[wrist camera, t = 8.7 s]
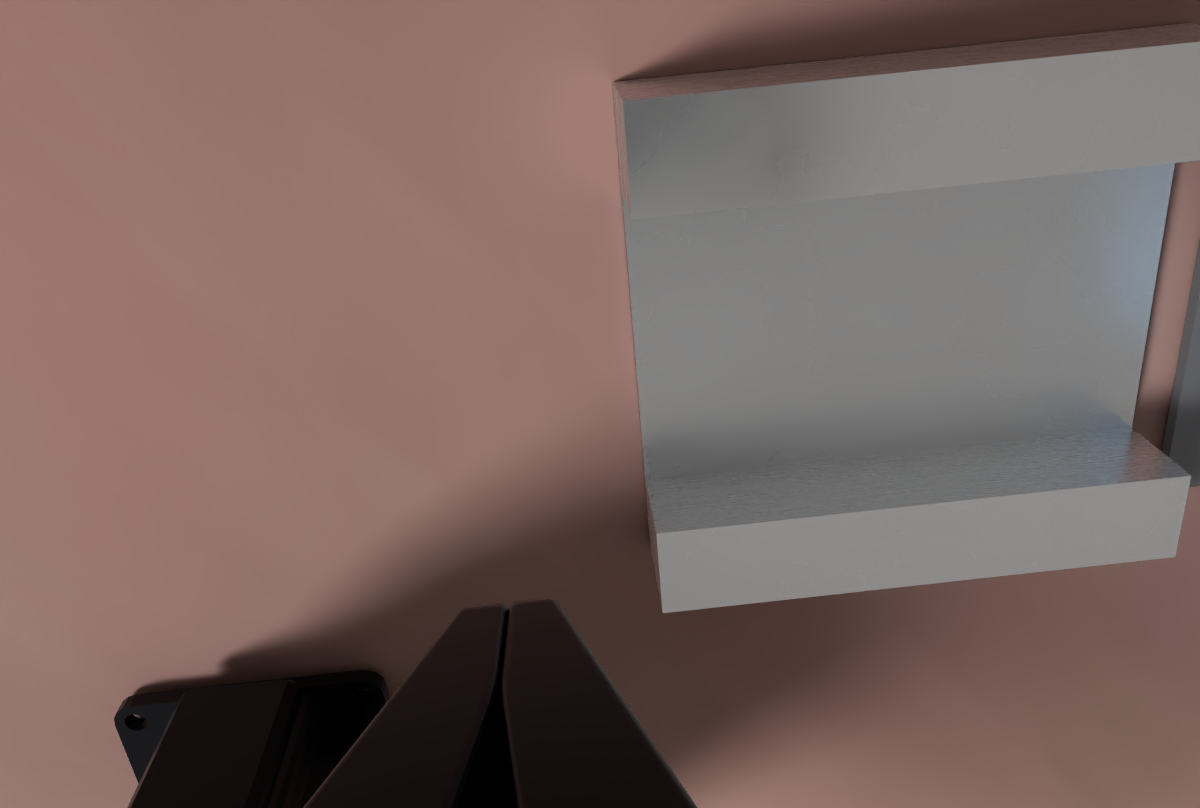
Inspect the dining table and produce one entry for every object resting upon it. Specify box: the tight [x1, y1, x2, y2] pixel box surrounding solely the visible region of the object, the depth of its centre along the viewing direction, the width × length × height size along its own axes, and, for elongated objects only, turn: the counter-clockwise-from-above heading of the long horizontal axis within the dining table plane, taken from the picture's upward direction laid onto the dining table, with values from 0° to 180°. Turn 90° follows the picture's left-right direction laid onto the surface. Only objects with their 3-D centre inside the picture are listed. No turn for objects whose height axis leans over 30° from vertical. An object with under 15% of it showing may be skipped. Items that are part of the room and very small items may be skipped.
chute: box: [612, 23, 1200, 613], centre depth 19 cm, size 11×10×2 cm
